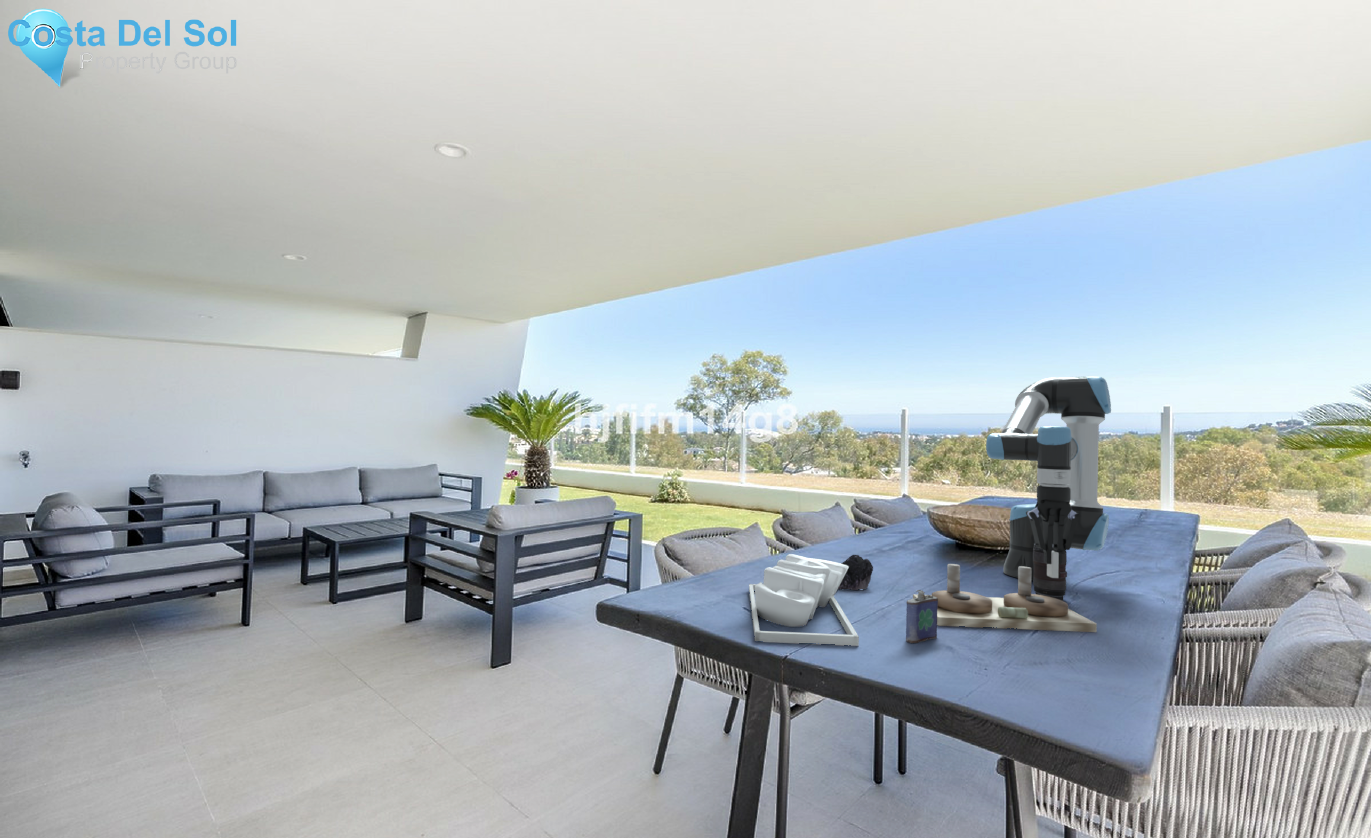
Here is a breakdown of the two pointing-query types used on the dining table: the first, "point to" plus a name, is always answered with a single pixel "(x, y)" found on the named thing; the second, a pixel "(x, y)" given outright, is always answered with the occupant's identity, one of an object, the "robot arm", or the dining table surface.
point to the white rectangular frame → (806, 637)
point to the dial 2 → (1033, 598)
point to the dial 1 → (960, 595)
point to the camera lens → (1045, 583)
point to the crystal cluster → (856, 573)
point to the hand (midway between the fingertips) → (1052, 576)
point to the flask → (921, 618)
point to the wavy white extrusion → (797, 589)
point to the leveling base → (1014, 619)
